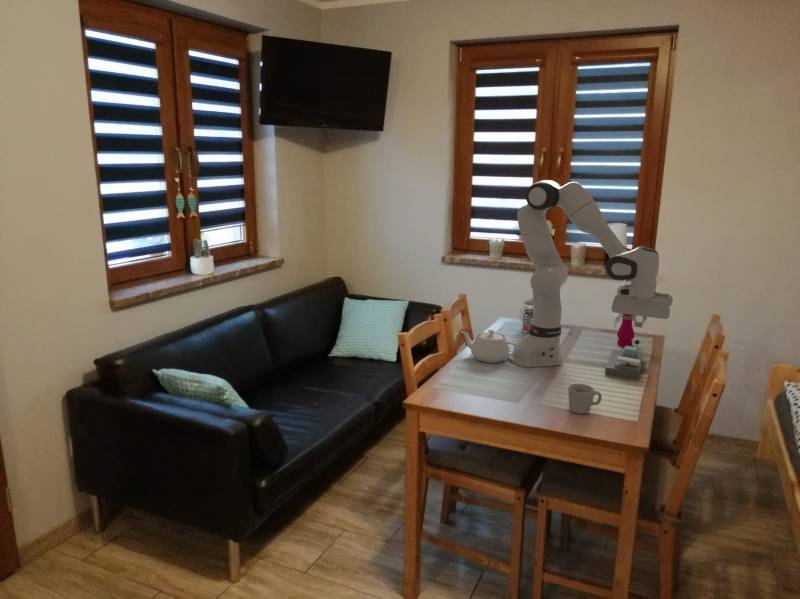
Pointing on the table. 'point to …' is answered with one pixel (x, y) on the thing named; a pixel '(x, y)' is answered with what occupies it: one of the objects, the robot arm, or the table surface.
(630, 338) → the pepper mill
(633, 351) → the push button
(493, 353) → the teapot
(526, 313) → the french press
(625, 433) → the table surface
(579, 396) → the cup
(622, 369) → the control panel
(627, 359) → the rocker switch
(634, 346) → the toggle lever
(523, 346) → the robot arm
